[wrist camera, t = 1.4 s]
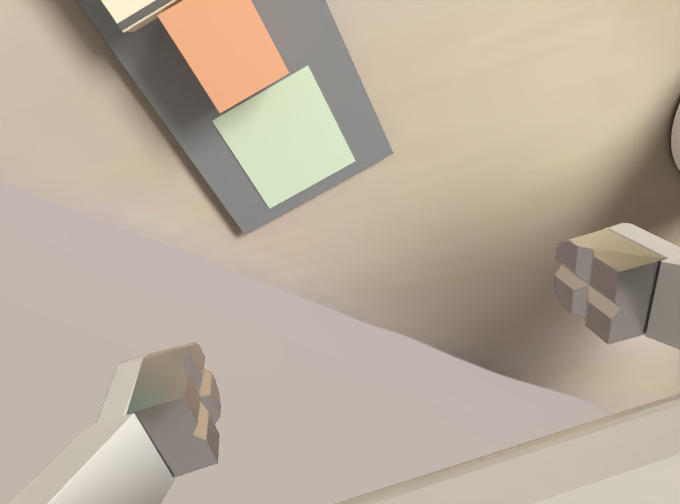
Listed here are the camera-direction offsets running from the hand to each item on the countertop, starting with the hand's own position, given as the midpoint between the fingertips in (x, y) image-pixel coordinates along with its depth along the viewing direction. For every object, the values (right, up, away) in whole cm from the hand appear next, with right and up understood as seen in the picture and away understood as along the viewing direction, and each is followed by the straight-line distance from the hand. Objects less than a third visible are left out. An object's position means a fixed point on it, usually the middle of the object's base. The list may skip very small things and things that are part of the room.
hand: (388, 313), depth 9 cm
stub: (-9, +15, +20) cm, 26 cm away
